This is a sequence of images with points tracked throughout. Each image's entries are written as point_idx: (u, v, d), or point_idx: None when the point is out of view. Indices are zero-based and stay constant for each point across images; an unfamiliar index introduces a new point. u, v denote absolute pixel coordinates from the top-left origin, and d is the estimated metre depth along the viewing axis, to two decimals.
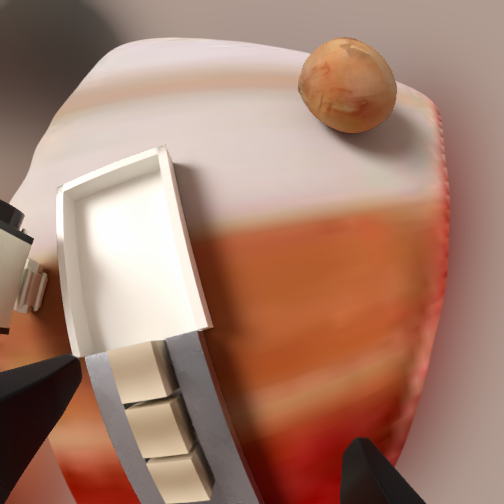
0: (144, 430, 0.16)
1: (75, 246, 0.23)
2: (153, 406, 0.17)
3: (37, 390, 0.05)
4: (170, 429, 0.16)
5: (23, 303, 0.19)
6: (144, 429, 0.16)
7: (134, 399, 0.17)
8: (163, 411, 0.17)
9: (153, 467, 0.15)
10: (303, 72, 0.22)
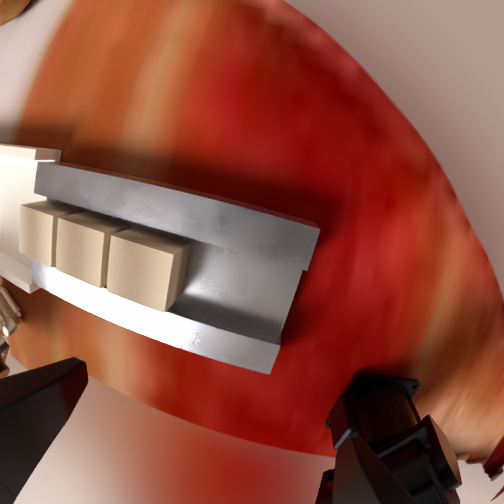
0: (74, 263, 0.16)
1: None
2: (58, 236, 0.15)
3: (43, 394, 0.05)
4: (77, 234, 0.15)
5: (3, 318, 0.20)
6: (73, 262, 0.16)
7: (49, 251, 0.16)
8: (62, 229, 0.15)
9: (112, 287, 0.16)
10: None
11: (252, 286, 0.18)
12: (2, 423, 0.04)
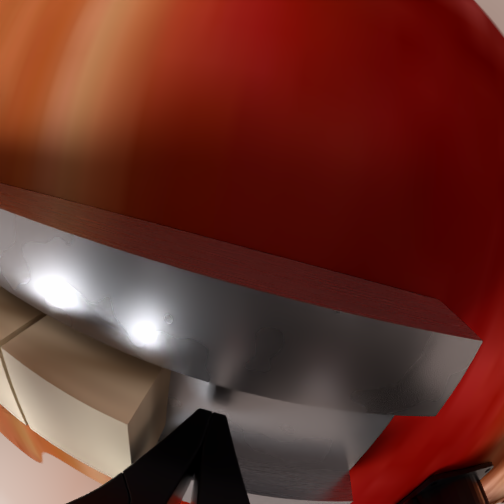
0: None
1: None
2: None
3: (191, 464, 0.05)
4: None
5: None
6: None
7: None
8: None
9: (35, 427, 0.06)
10: None
11: (312, 425, 0.08)
12: None
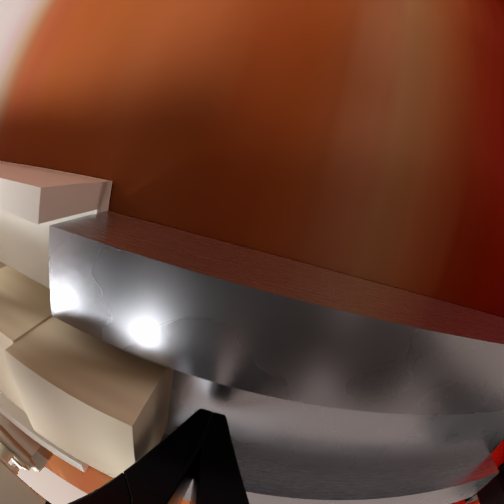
0: None
1: None
2: None
3: (193, 465, 0.05)
4: None
5: (27, 459, 0.09)
6: None
7: None
8: None
9: (38, 428, 0.06)
10: None
11: (494, 424, 0.07)
12: None
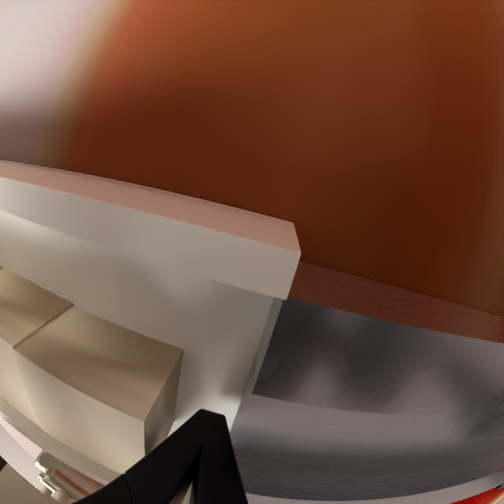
0: None
1: None
2: None
3: (193, 464, 0.05)
4: None
5: None
6: None
7: None
8: None
9: (46, 427, 0.06)
10: None
11: None
12: None
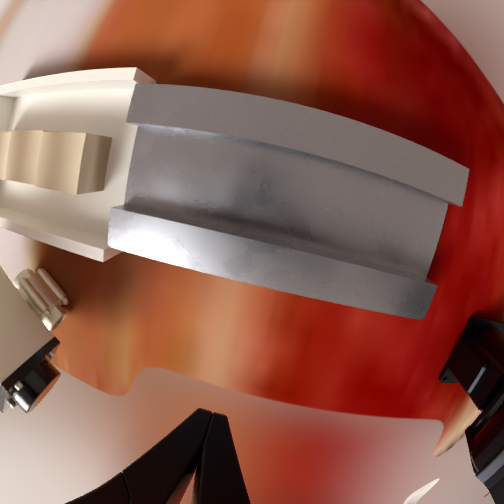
0: (18, 167, 0.14)
1: (25, 215, 0.18)
2: (10, 147, 0.14)
3: (191, 464, 0.05)
4: (24, 138, 0.13)
5: (46, 307, 0.17)
6: (18, 166, 0.14)
7: (5, 165, 0.14)
8: (13, 139, 0.13)
9: (39, 180, 0.14)
10: None
11: (407, 227, 0.16)
12: None
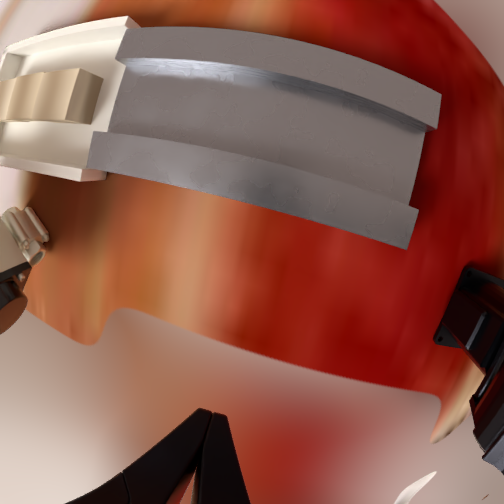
0: (18, 105, 0.14)
1: (20, 156, 0.17)
2: (13, 91, 0.13)
3: (191, 464, 0.05)
4: (26, 81, 0.13)
5: (26, 238, 0.17)
6: (18, 105, 0.14)
7: (7, 106, 0.14)
8: (17, 83, 0.13)
9: (35, 113, 0.14)
10: None
11: (381, 151, 0.15)
12: None
